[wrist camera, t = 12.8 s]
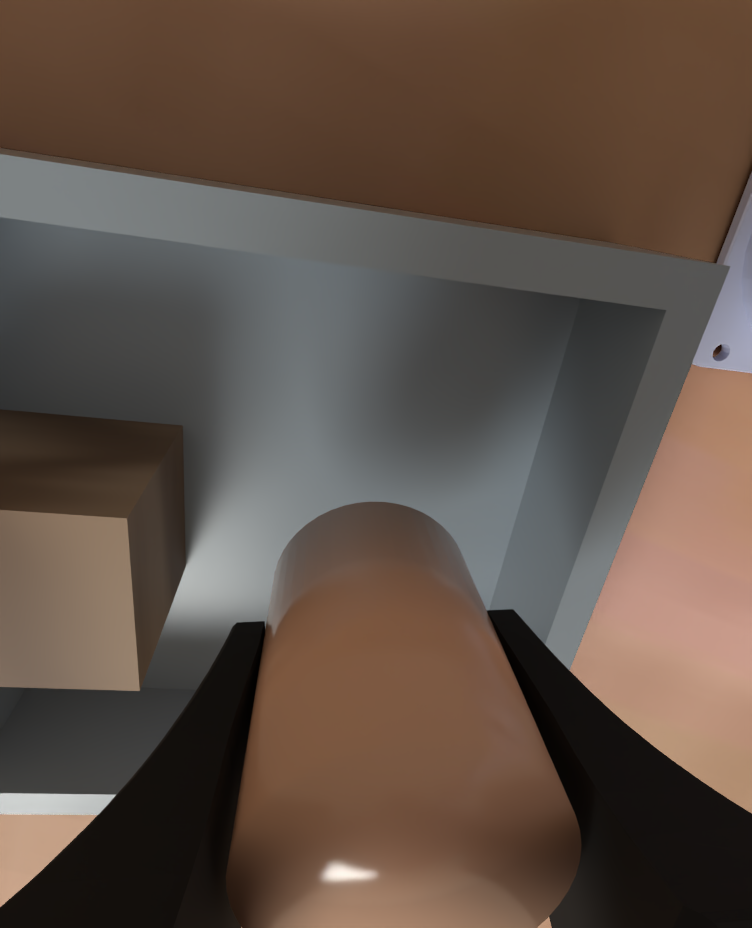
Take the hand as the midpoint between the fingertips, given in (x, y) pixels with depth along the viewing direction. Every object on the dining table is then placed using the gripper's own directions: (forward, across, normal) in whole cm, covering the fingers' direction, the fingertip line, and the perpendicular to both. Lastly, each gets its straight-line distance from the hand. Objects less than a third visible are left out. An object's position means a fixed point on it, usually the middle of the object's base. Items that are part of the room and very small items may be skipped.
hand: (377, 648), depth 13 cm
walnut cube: (+6, +8, -1) cm, 10 cm away
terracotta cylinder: (+2, 0, 0) cm, 2 cm away
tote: (+7, +3, 0) cm, 7 cm away
